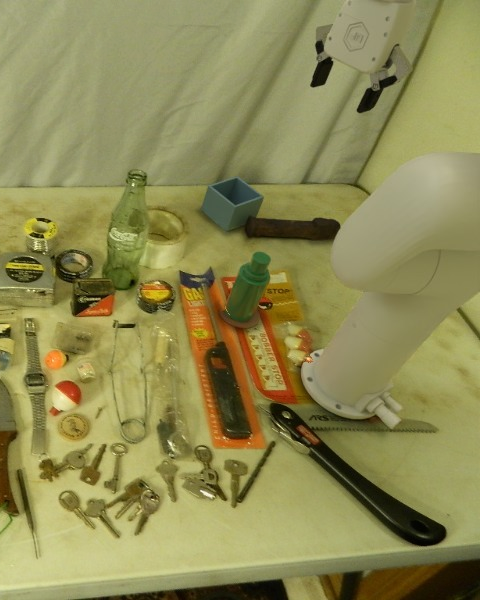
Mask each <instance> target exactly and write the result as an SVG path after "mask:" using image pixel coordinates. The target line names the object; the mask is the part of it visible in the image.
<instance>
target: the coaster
mask: <svg viewBox="0 0 480 600" xmlns="http://www.w3.org/2000/svg"><path fill="white" fill-rule="evenodd" d="M218 314H219V316H220V318H221V319H222V320H223V321H224V322H225V323H226V324H228V325H230V326H231V327H234V328H238V329H241V330H242V329H243V330H244V329H251V328H254V327H255V326H256V325H257V324H258V323H259V321H260V317H261V314H260V312H259V309H258V308H257V309H256V311H255V313H254V315H253V317H252V319H251V320H249V321H247V322H238V321H235V320H233V319H231V318H230V317H228V316H227V314H226V313H225V310H218Z"/></svg>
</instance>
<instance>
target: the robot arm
mask: <svg viewBox="0 0 480 600" xmlns="http://www.w3.org/2000/svg"><path fill="white" fill-rule="evenodd" d="M417 2H418V1H417V0H345V1H344V2H343V4H342V6H341V8H340V10H339V12H338V13H337V16H336V17H335V20H334V21H333V23H330V24H325V25H321V26H317V27H316V28H315V41H316V42H315V43H314V48H315V51H316V54H317V55H316V57H315V58H316V59H315V61H316V62H317V64H316V67H315V69H314V72H313V75H312V77H311V82H310V85H309V86H310V87H311V88H317V87H322V86H324V85H326V83H327V81H328V79H329V76H330V73H331V71H332V68H333V66H334V63H335V61H337V62H339V63H341V64H343V65H345V66H347V67H349V68H351V69H353V70H355V71H357V72H359V73H361V74H365V75H369V81H370V84H371V85H370V86H369V87H367V88H366V89H365V91H364V93H363V95H362V98H361V99H360V102H359V104H358V106H357V108H356V110H355V111H356V112H357V114H363V113H367V112H369V111H371V110H372V109H374V108H375V107H376V105H377V103H378V101H379V99H380V98H381V96H382V93H383V91H384V89H386V88H388V87H391V86H393V85H396V84H398V83H400V82H401V80H403V79H404V78H406V76H408V75H409V74H410V73H412V72H413V70H414V67H413V65H412V64H411V62H410V61H409V59H408V58H407V56H406V55H405V53H404V51H403V50H402V47H403V44H404V41H405V39H406V37H407V34H408V30H410V26H411V23H412V21H413V16H414V13H415V10H416V5H417ZM334 60H335V61H334ZM393 64H394V67H396V71H394V72H393V74H391V75H390V74H389V73H390V72H389V69H391V67H393ZM329 261H330V267H331V270H332V274H334V276H335V278H336V279H337V280H338V281H339V282H340V284H342V285H344V286H345V287H347V288H349V289H351V290H353V291H358V292H362V293H361V294H360V296H359V297H358V298H357V300H356V302H355V303H354V304H353V305H352V307H351V309H350V310H349V312H348V313H347V315H346V316H345V318H344V320H343V321H342V323H341V325H340V326H339V327H338V329H337V330H336V332H335V333H334V335H333V336H332V338H331V339H330V341H329V342H328V344H327V345H326V347H325V348H321V349H317V350H314V351H312V352H311V353H309V354H310V356H311V357H312V359H313V362H311V363H310V362H309V363H308V362H304V361H303V363H302V365H301V368H300V378H301V381H302V385H303V387H304V388H305V390H306V392H307V393H308V395H309V396H310V397H311V398H312V399H313V400H314V401H315V402H316V403H317V404H319V406H321V407H322V408H323V409H325V410H327V411H328V412H330V413H332V414H334V415H335V416H339V417H342V418H345V419H351V420H365V419H369V418H372V417H374V416H377V417H378V418H379V419H380V420H381V421H382V422H383V424H385V426H387V428H389V429H390V430H393V428H395V427H397V425H399V424H400V423H401V421H402V419H401V418H400V417H399V416H398V415H397V414H399V413H400V412H401V411H402V410H403V409H404V407H403V405H401V404H400V403H399V402H398V401H397V400H395V399H394V398H392V397H391V393H390V392H389V391H390V390H391V389H392V388H393V387H394V386H395V384H394V382H392V380H393V378H394V377H395V376H396V375H397V374H398V372H400V370H401V369H402V368H403V367H404V366H405V365H406V364H407V362H408V361H409V360H410V359H411V358H412V356H413V355H414V354H415V353H416V352H417V351H418V350H419V348H420V347H421V346H422V345H423V344H424V343H425V342H426V341H427V339H429V337H430V336H431V335H432V334H433V333H434V331H435V330H436V329H437V328H439V326H440V325H441V324H442V323H443V322H444V321H445V320H446V319H447V318H449V316H450V315H452V314H453V313H454V312H455V311H456V310H458V309H459V308H460V307H462V306H464V305H465V304H466V303H468V302H469V301H470V300H472V299H473V298H475V296H477V295H478V294H479V293H480V153H478V152H464V151H434V152H428V153H425V154H421V155H418V156H416V157H414V158H412V159H410V160H407V161H406V162H404V163H402V164H401V165H400V166H399V167H397V168H396V169H395V170H394V171H392V173H390V175H389V176H388V177H387V178H386V179H385V180H384V181H383V182H382V183H380V185H379V186H378V187H377V188H376V189H375V190H374V191H373V192H372V193H371V194H370V195H369V196H368V197H367V198H366V199H365V200H364V201H363V202H361V204H360V205H359V206H358V207H357V208H356V209H355V210H354V211H353V212H352V213H351V214H350V215H349V216H348V217H347V219H346V220H345V221H344V222H343V224H342V225H341V227H340V230H339V231H338V233H337V235H336V237H335V239H333V242H332V245H331V249H330V259H329ZM386 406H387V407H386Z"/></svg>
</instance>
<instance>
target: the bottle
mask: <svg viewBox="0 0 480 600" xmlns="http://www.w3.org/2000/svg"><path fill="white" fill-rule="evenodd" d="M271 261H272V258H271V256H270V255H269V254H267V253H266V252H263V251H255V252H254V253H253V254H252V256H251V258H250V261H248V262H246V263H245V264H242V265H241V266H240V267H239V269H238V272H237V274H236V277H235V279H234V281H233V284H232V286H231V289H230V291H229V293H228V296H227V299H226V302H225V304H226V309H227V311H228V312H227V311H226V309H225V306H224V307H223V308H224V310H225V313H226V314H227V316H228V317H230V318H231V319H233V320H235V321H238V322H247V321H249V320H251V319H252V317H253V315H254V313H255V311H256V309H258V307H259V304H260V302H261V301H262V298H263V297H264V294H265V292H266V290H267V288H268V286H269V283H270V281H271V273H270V270H269V266H270V264H271ZM228 313H229V314H230V315H229V314H228Z"/></svg>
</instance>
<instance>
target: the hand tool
mask: <svg viewBox="0 0 480 600" xmlns="http://www.w3.org/2000/svg"><path fill="white" fill-rule="evenodd" d="M244 226H245V227H244V231H245V233H246V236H247V238H251V237H255V238H258V237H261V236H262V237H279V238H280V237H281V238H285V237H286V238H303V239H309V240H311V241H326V240H327V241H328V240H334V239H335V237H336V235H337V233H338V231H339V230H340V228H341V227H342V225H341V223H340V222H339V221H338V220H336V219H334V218H325V217H314V218H313V219H312V220H298V219H279V218H265V217H256V218H255V217H252V216H251V215H250V216H249V217H248V219H247V222H246V224H245V225H244Z"/></svg>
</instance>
